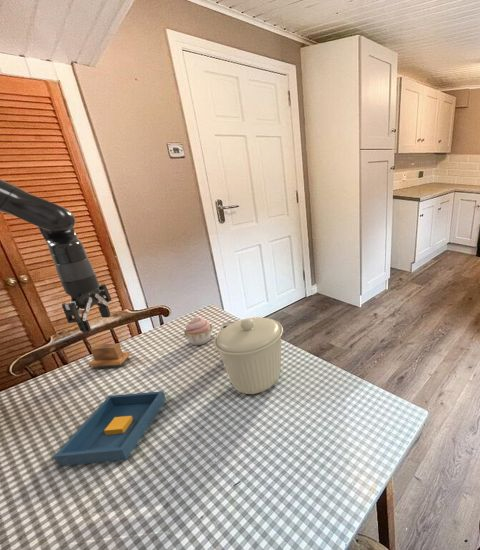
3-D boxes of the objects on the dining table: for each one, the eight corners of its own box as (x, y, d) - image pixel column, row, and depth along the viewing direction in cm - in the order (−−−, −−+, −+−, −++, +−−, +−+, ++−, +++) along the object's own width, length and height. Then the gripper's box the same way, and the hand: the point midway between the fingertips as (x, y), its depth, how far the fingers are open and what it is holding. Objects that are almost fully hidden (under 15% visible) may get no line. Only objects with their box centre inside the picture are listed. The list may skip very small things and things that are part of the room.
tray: (59, 468, 65) (53, 456, 64) (113, 405, 82) (109, 395, 80) (127, 461, 67) (122, 449, 65) (166, 401, 83) (163, 391, 82)
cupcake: (203, 350, 104) (196, 325, 101) (180, 346, 107) (173, 321, 103) (221, 335, 113) (215, 311, 109) (199, 332, 115) (194, 309, 111)
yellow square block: (105, 435, 72) (103, 430, 72) (116, 421, 76) (114, 417, 76) (123, 433, 73) (121, 428, 72) (133, 420, 76) (131, 415, 76)
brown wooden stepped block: (91, 369, 95) (83, 351, 93) (102, 359, 100) (95, 342, 97) (121, 367, 96) (115, 349, 94) (131, 357, 101) (125, 340, 98)
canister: (242, 415, 78) (227, 347, 70) (214, 381, 90) (199, 320, 82) (300, 380, 90) (293, 318, 82) (269, 354, 102) (261, 298, 94)
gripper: (82, 267, 93) (100, 313, 99) (41, 285, 80) (65, 337, 86) (108, 265, 94) (124, 311, 100) (72, 284, 80) (93, 336, 87)
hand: (97, 323), depth 93 cm, fingers open, 8 cm apart
